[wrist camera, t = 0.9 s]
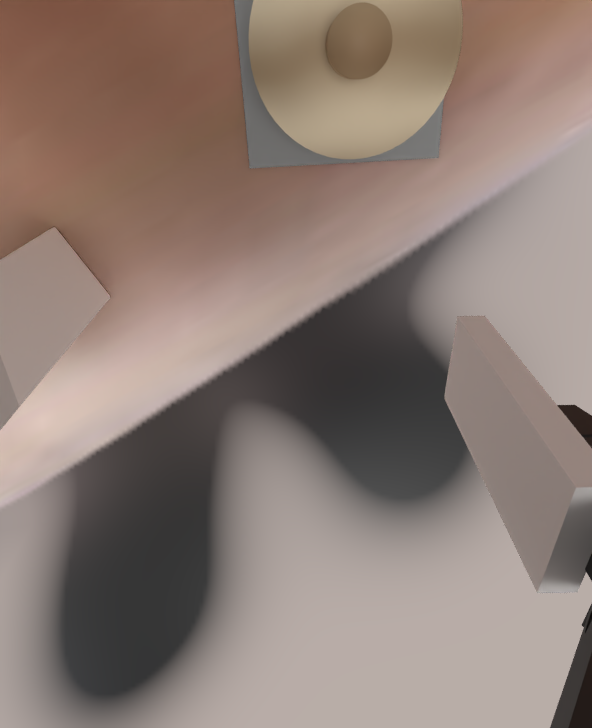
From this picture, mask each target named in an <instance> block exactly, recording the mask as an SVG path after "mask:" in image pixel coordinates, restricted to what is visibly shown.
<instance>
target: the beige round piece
mask: <svg viewBox="0 0 592 728" xmlns="http://www.w3.org/2000/svg"><path fill="white" fill-rule="evenodd" d="M462 31H463V16H462V3H461V0H253V4H252V10H251V15H250V23H249V55H250V62H251V69H252V72H253V76H254V80H255V84H256V86H257V89H258V92H259V94H260V97H261V99H262V101H263V103H264V105H265V107H266V108H267V110H268V112H269V113H270V115H271V116H272V118H273V119H274V120H275V122H276V123H277V124H278V125H279V126H280V128H281V129H282V130H283V131H284V132H285V133H286V134H287V135H289V136H290V137H291V138H292V139H293V140H294V141H296V142H297V143H299V144H300V145H302V146H303V147H305V148H307V149H309V150H311V151H313V152H315V153H317V154H321V155H324V156H327V157H331V158H338V159H361V158H368V157H371V156H375V155H379V154H381V153H384V152H386V151H389V150H391V149H393V148H395V147H396V146H398V145H400V144H402V143H403V142H405V141H406V140H407V139H409V138H410V137H411V136H413V135H414V134H415V133H416V132H417V131H418V130H419V129H420V128H421V127H422V126H423V125H424V124H425V123H426V122H427V121H428V120H429V118H430V117H431V116H432V115H433V114H434V112H435V111H436V109H437V108H438V106H439V105H440V103H441V102H442V100H443V98H444V96H445V94H446V92H447V90H448V88H449V86H450V84H451V81H452V79H453V76H454V73H455V71H456V67H457V63H458V59H459V56H460V49H461V43H462Z"/></svg>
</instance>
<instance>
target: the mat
mask: <svg viewBox="0 0 592 728" xmlns="http://www.w3.org/2000/svg"><path fill="white" fill-rule="evenodd" d="M234 3H235V14H236V25H237V35H238V46H239V57H240V68H241V79H242V90H243V101H244V111H245V122H246V133H247V144H248V155H249V166H250V168H265V167H283V166H301V165H319V164H337V163H355V162H373V161H391V160H409V159H427V158H439V146H440V135H441V123H442V112H443V100H444V98H443V100H442V102H441V103H440V105H439V106H438V108H437V109H436V111H435V112H434V114H433V115H432V116H431V117H430V118H429V120H428V121H427V122H426V123H425V124H424V125H423V126H422V127H421V128H420V129H419V130H418V131H417V132H416V133H415V134H414V135H413V136H411V137H410V138H409V139H407V140H406V141H405V142H403V143H402V144H400V145H398V146H396V147H395V148H393V149H391V150H389V151H386V152H384V153H381V154H379V155H375V156H371V157H368V158H361V159H338V158H331V157H327V156H324V155H321V154H317V153H315V152H313V151H311V150H309V149H307V148H305V147H303V146H302V145H300V144H299V143H297V142H296V141H294V140H293V139H292V138H291V137H290V136H289V135H287V134H286V133H285V132H284V131H283V130H282V129H281V128H280V126H279V125H278V124H277V123H276V122H275V120H274V119H273V118H272V116H271V115H270V113H269V112H268V110H267V108H266V107H265V105H264V103H263V101H262V99H261V97H260V94H259V92H258V89H257V86H256V84H255V80H254V76H253V72H252V69H251V62H250V55H249V23H250V15H251V10H252V4H253V0H234Z"/></svg>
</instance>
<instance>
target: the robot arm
mask: <svg viewBox="0 0 592 728" xmlns="http://www.w3.org/2000/svg"><path fill="white" fill-rule="evenodd" d="M444 398H445V400H446V402H447V405H448V407H449V409H450V411H451V413H452V415H453V417H454V419H455V421H456V423H457V426H458V428H459V430H460V432H461V434H462V436H463V438H464V440H465V443H466V445H467V447H468V449H469V451H470V453H471V455H472V457H473V459H474V461H475V463H476V466H477V468H478V470H479V472H480V474H481V476H482V478H483V480H484V482H485V484H486V487H487V488H488V491H489V493H490V495H491V497H492V499H493V501H494V503H495V505H496V508H497V510H498V512H499V514H500V516H501V518H502V520H503V522H504V524H505V526H506V528H507V530H508V533H509V535H510V537H511V539H512V541H513V543H514V545H515V547H516V549H517V552H518V554H519V556H520V558H521V560H522V562H523V564H524V566H525V568H526V570H527V572H528V574H529V577H530V579H531V581H532V583H533V585H534V587H535V589H536V591H537V593H563V592H564V593H566V592H578V589H579V587H580V585H581V582H582V580H583V578H584V575H585V573H586V572H587V574H588V575H589V577H590V579H591V580H592V416H591V415H590V414H588V413H587V412H585V411H583V410H582V409H580V408H579V407H577V406H576V405H556V403H555V402H554V401H553V400H552V399H551V397H550V396H549V395H548V394H547V392H546V391H545V390H544V389H543V387H542V386H541V385H540V384H539V382H537V380H536V379H535V377H534V376H533V375H532V374H531V373H530V371H529V370H528V369H527V368H526V366H525V365H524V364H523V363H522V361H521V360H520V359H519V358H518V356H517V355H516V354H515V353H514V351H513V350H512V349H511V348H510V347H509V345H508V344H507V343H506V342H505V340H504V339H503V338H502V337H501V335H500V334H499V333H498V332H497V330H496V329H495V328H494V327H493V326H492V324H491V323H490V322H489V321H488V319H487V318H486V317H485V316H458V317H457V322H456V328H455V335H454V340H453V347H452V353H451V359H450V365H449V371H448V377H447V384H446V390H445V396H444ZM18 408H19V404H18V401H17V399H16V396H15V393H14V390H13V388H12V385H11V382H10V380H9V377H8V374H7V372H6V369H5V366H4V364H3V361H2V358H1V355H0V430H1V429H2V427H3V426H4V425H5V424H6V423H7V421H8V420H9V419H10V418H11V416H12V415H13V414H14V413H15V412H16V410H17V409H18ZM582 626H583V627H584V629H583V632H582V635H581V638H580V641H579V644H578V647H577V650H576V653H575V656H574V659H573V662H572V665H571V668H570V671H569V674H568V677H567V679H566V682H565V685H564V688H563V691H562V695H561V697H560V700H559V703H558V706H557V709H556V712H555V715H554V718H553V721H552V724H551V727H550V728H592V604H591V606H590V608H589V611H588V613H587V615H586V617H585V619H584V621H583V623H582Z"/></svg>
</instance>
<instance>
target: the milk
mask: <svg viewBox="0 0 592 728" xmlns="http://www.w3.org/2000/svg"><path fill="white" fill-rule="evenodd" d="M109 299H110V295H109V294H108V293H107V291H106V290H105V289H104V288H103V286H102V285H101V284H100V283H99V281H98V280H97V279H96V278H95V276H94V275H93V274H92V273H91V271H90V270H89V269H88V267H87V266H86V265H85V264H84V262H83V261H82V260H81V259H80V257H79V256H78V255H77V254H76V252H75V251H74V250H73V249H72V247H71V246H70V245H69V244H68V242H67V241H66V240H65V239H64V237H63V236H62V235H61V234H60V232H59V231H58V230H57V229H56V228H55V227H53V228H51V229H49V230H48V231H46V232H44V233H43V234H41V235H39V236H38V237H36V238H35V239H33V240H31V241H30V242H28V243H26V244H25V245H23V246H22V247H20V248H18V249H17V250H15V251H13V252H12V253H10V254H8V255H7V256H5V257H4V258H2V259H0V355H1V358H2V361H3V364H4V366H5V369H6V372H7V374H8V377H9V380H10V382H11V385H12V388H13V390H14V393H15V396H16V399H17V401H18V404H19V407H20V405H21V404H22V403H23V402H24V401H25V399H26V398H27V397H28V396H29V395H30V393H31V392H32V391H33V390H34V389H35V387H36V386H37V385H38V384H39V383H40V381H41V380H42V379H43V378H44V377H45V375H46V374H47V373H48V372H49V371H50V369H51V368H52V367H53V366H54V365H55V364H56V362H57V361H58V360H59V359H60V358H61V356H62V355H63V354H64V353H65V352H66V350H67V349H68V348H69V347H70V346H71V344H72V343H73V342H74V341H75V340H76V338H77V337H78V336H79V335H80V334H81V332H82V331H83V330H84V329H85V328H86V326H87V325H88V324H89V323H90V322H91V320H92V319H93V318H94V317H95V316H96V314H97V313H98V312H99V311H100V310H101V308H102V307H103V306H104V305H105V304H106V303H107V301H108V300H109Z"/></svg>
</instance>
